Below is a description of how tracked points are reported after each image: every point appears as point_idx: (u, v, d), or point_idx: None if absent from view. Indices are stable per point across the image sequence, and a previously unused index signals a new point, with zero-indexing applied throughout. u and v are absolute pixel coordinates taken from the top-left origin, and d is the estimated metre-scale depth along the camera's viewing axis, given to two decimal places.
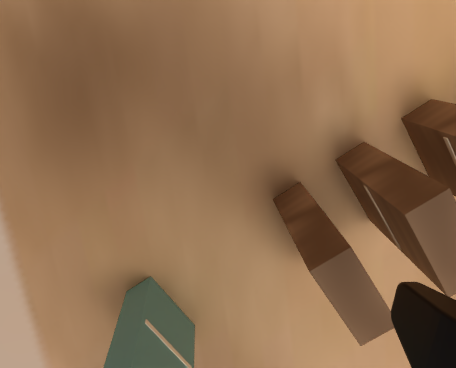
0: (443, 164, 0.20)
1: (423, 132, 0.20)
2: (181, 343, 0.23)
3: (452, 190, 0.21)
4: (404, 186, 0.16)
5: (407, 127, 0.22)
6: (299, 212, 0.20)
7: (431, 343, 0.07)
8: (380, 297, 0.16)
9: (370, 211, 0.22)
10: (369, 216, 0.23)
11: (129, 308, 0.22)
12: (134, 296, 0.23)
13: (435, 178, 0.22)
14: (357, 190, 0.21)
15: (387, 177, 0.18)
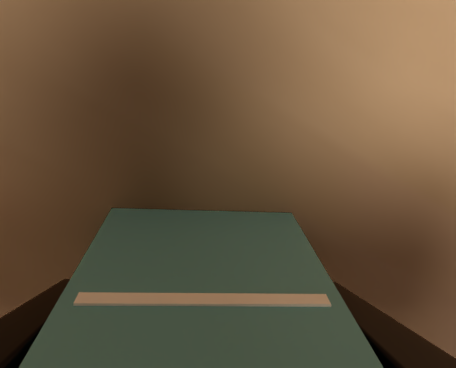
0: None
1: None
2: (260, 266, 0.08)
3: None
4: None
5: None
6: None
7: None
8: None
9: None
10: None
11: None
12: None
13: None
14: None
15: None
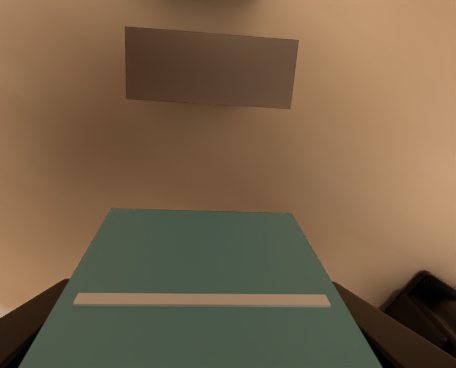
0: None
1: None
2: (260, 267, 0.08)
3: None
4: None
5: None
6: None
7: None
8: (233, 37, 0.11)
9: None
10: None
11: None
12: None
13: None
14: None
15: None
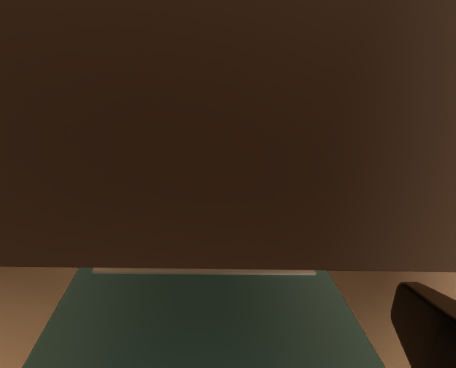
0: None
1: None
2: None
3: None
4: None
5: None
6: None
7: (431, 343, 0.07)
8: None
9: None
10: None
11: None
12: None
13: None
14: None
15: None
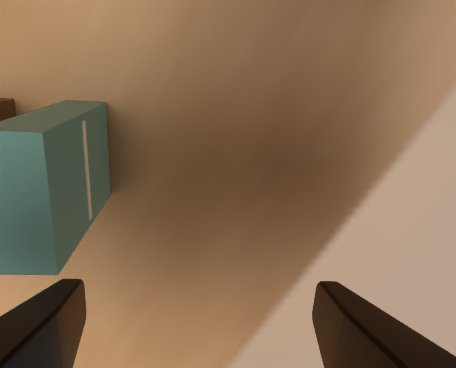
0: None
1: None
2: None
3: None
4: None
5: None
6: None
7: (337, 344, 0.07)
8: None
9: None
10: None
11: None
12: None
13: None
14: None
15: None
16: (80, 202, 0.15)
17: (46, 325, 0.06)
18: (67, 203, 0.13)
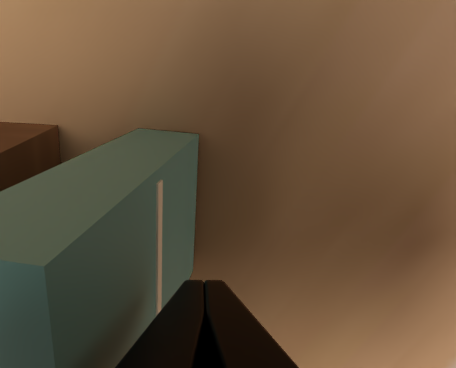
0: None
1: None
2: None
3: None
4: None
5: None
6: None
7: None
8: None
9: None
10: None
11: None
12: None
13: None
14: None
15: None
16: None
17: (202, 325, 0.06)
18: (110, 367, 0.06)
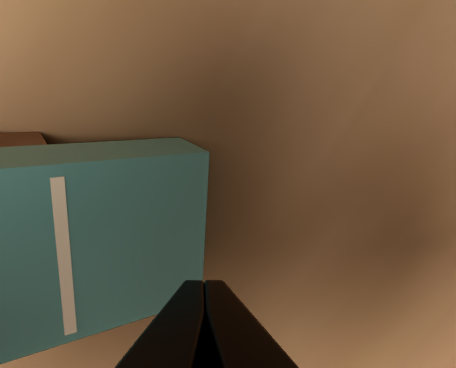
0: None
1: None
2: None
3: None
4: None
5: None
6: None
7: None
8: None
9: None
10: None
11: None
12: None
13: None
14: None
15: None
16: (17, 305, 0.09)
17: (202, 325, 0.06)
18: None
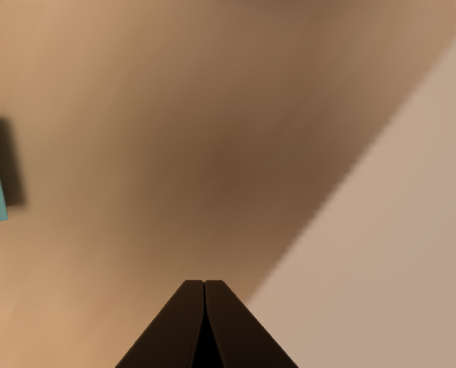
0: None
1: None
2: None
3: None
4: None
5: None
6: None
7: None
8: None
9: None
10: None
11: None
12: None
13: None
14: None
15: None
16: None
17: (202, 325, 0.06)
18: None
